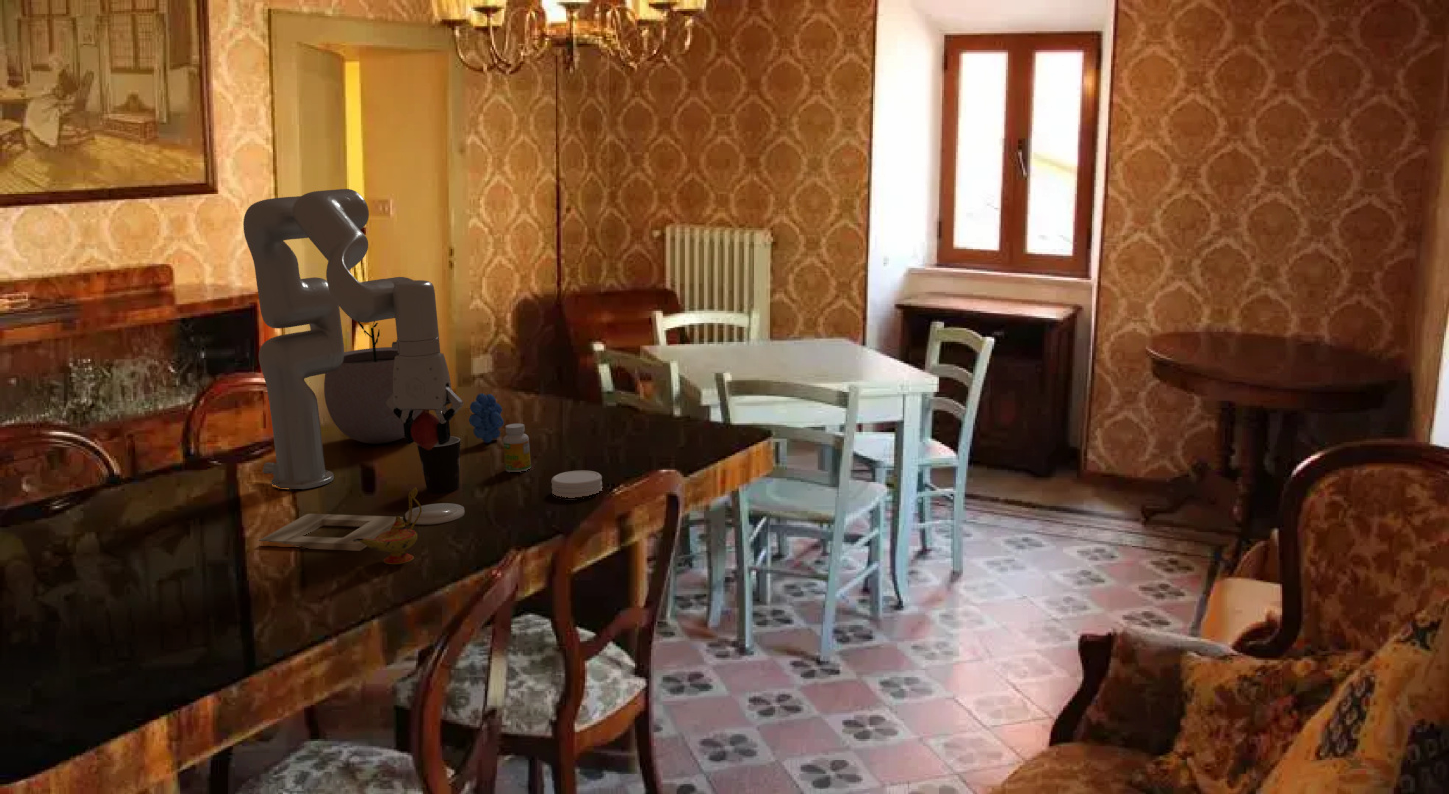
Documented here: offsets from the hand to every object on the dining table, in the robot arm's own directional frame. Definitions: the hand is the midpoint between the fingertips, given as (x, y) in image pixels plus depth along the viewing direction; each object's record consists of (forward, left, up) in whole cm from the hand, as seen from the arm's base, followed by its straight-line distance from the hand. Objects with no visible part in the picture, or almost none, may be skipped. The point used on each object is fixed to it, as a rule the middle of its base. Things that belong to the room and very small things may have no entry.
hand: (428, 441), depth 247 cm
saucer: (0, 0, -14) cm, 14 cm away
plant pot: (-41, +55, -15) cm, 70 cm away
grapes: (-13, +55, -15) cm, 58 cm away
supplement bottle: (+3, +33, -15) cm, 36 cm away
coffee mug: (-7, +19, -15) cm, 25 cm away
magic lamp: (+5, -26, -15) cm, 30 cm away
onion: (0, 0, -2) cm, 2 cm away
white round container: (+22, +18, -15) cm, 32 cm away
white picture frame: (-14, -13, -14) cm, 24 cm away
